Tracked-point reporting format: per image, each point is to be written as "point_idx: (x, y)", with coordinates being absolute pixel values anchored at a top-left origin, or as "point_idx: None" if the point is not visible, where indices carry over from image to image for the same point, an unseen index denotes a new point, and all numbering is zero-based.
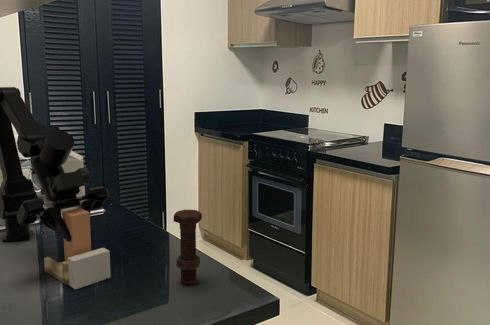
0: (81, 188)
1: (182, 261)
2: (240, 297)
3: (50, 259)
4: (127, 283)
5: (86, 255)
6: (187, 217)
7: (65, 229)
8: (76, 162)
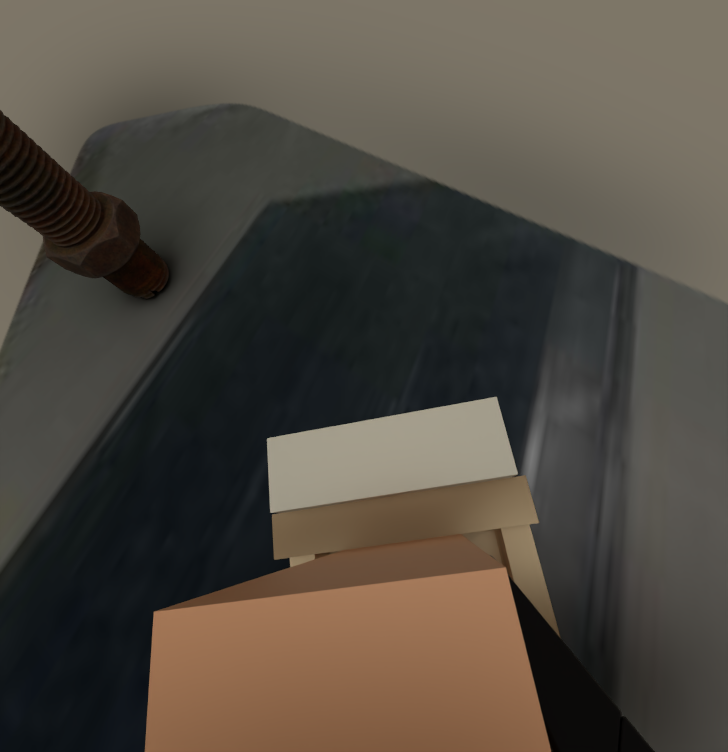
0: None
1: (115, 205)
2: (130, 157)
3: None
4: (293, 372)
5: (402, 443)
6: None
7: (542, 650)
8: None
